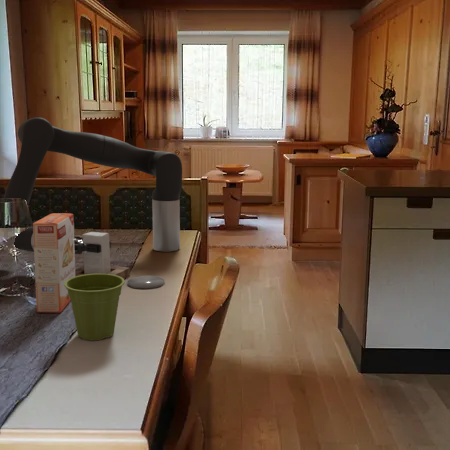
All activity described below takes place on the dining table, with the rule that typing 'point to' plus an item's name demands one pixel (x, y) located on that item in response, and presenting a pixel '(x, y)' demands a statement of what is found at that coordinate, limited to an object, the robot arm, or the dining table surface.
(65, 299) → the cracker box
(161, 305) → the dining table surface
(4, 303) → the dining table surface
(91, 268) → the skincare box
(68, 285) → the plant pot
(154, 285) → the slate coaster
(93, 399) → the dining table surface
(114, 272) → the pocket block
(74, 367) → the dining table surface
